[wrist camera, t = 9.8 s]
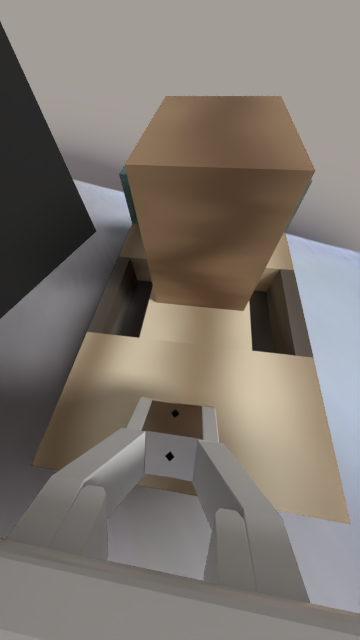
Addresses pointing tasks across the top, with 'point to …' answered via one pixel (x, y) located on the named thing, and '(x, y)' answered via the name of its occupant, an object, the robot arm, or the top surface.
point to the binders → (32, 190)
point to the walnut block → (215, 194)
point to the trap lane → (206, 380)
